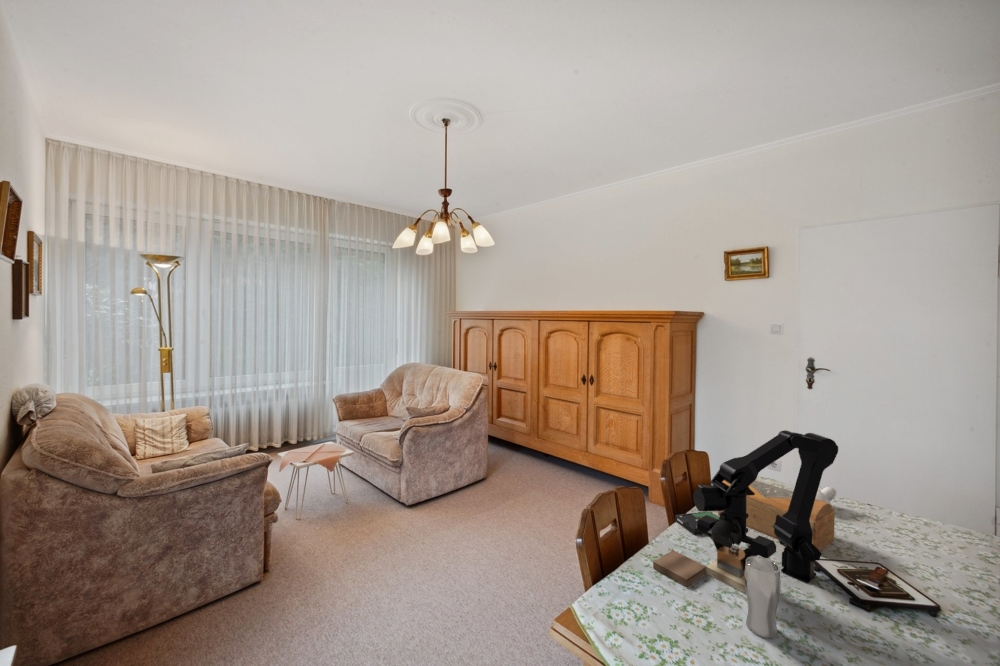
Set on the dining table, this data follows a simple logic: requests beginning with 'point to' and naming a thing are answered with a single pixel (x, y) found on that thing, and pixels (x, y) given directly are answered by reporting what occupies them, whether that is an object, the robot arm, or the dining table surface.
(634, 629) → the dining table surface
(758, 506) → the wooden box
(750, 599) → the beer glass
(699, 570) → the stand
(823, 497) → the white knot sculpture
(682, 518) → the disk drive
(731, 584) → the stand
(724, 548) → the block
